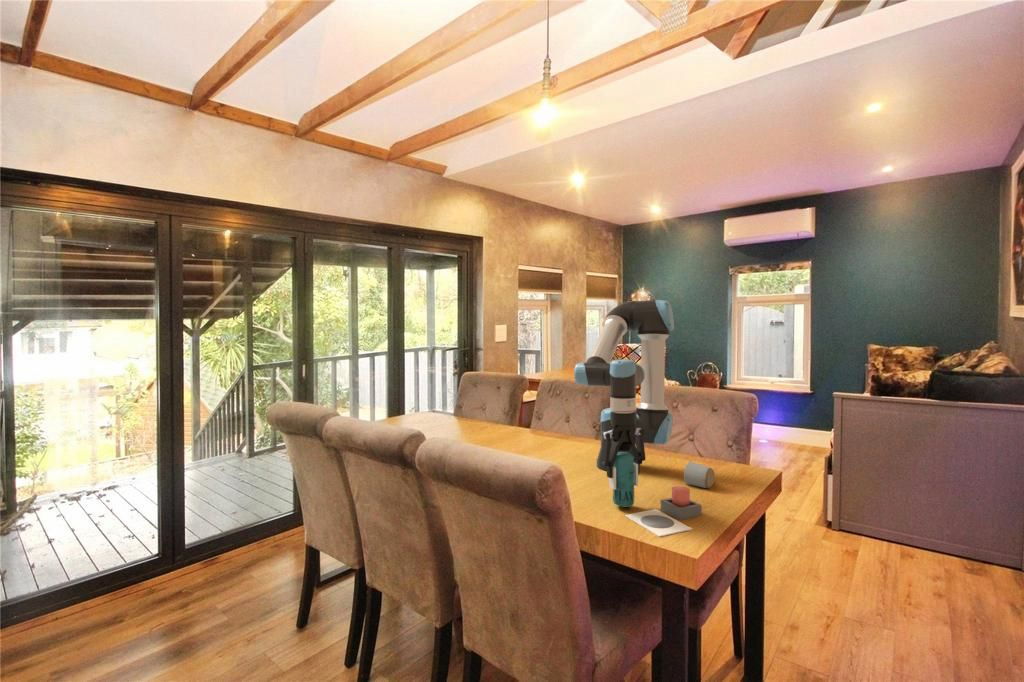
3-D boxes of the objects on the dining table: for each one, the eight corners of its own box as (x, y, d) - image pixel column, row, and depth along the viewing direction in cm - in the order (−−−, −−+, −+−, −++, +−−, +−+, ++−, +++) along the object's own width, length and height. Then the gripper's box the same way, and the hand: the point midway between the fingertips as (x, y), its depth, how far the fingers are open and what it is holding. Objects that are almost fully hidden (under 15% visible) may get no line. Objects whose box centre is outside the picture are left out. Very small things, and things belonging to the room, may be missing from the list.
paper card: (624, 516, 138) (624, 514, 138) (655, 510, 142) (655, 508, 142) (659, 537, 124) (659, 535, 124) (692, 529, 128) (692, 528, 128)
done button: (668, 504, 141) (668, 487, 141) (681, 501, 143) (681, 485, 143) (680, 510, 137) (680, 492, 137) (693, 507, 139) (693, 490, 138)
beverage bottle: (611, 510, 142) (610, 444, 142) (614, 502, 149) (614, 438, 148) (633, 513, 140) (633, 445, 140) (635, 504, 146) (635, 440, 146)
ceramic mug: (707, 491, 157) (707, 468, 157) (683, 486, 163) (683, 463, 163) (718, 484, 165) (719, 462, 165) (695, 479, 170) (695, 457, 170)
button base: (660, 509, 142) (660, 499, 142) (681, 505, 145) (681, 495, 145) (679, 519, 135) (679, 509, 135) (701, 515, 138) (701, 504, 138)
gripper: (601, 415, 136) (602, 495, 137) (658, 410, 144) (658, 485, 145) (587, 411, 143) (588, 487, 144) (642, 406, 151) (643, 478, 151)
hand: (623, 486), depth 144 cm, fingers open, 7 cm apart
